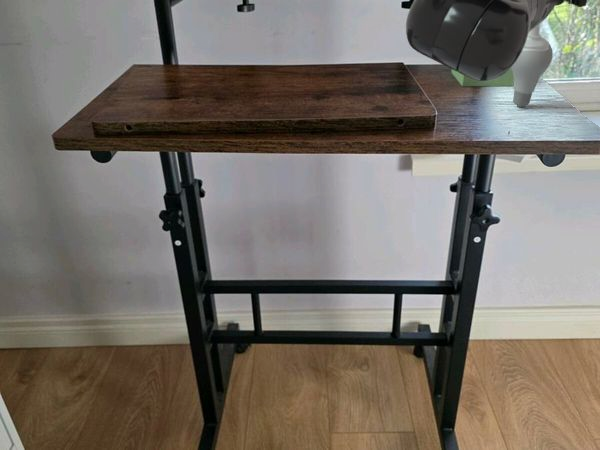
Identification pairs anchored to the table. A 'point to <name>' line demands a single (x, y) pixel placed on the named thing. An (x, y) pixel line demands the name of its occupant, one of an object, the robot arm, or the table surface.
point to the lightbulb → (529, 74)
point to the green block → (502, 81)
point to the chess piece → (535, 41)
